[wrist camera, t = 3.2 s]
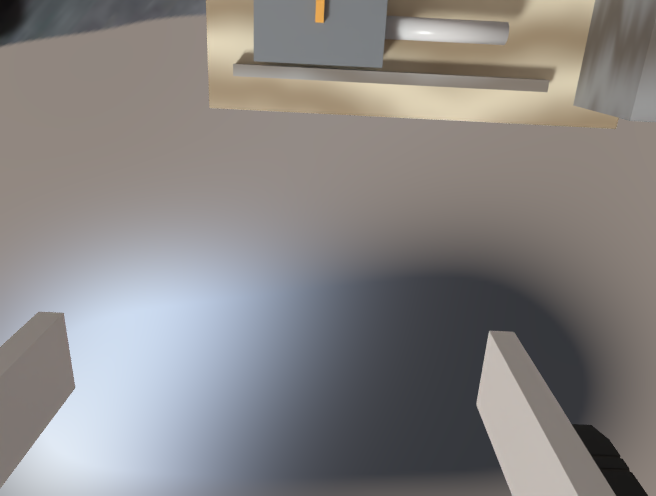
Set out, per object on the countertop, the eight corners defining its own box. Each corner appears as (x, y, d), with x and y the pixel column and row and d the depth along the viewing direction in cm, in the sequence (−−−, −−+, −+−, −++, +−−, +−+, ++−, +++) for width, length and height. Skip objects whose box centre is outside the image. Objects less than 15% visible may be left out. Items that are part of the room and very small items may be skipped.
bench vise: (207, -78, 36) (167, -116, 27) (650, -55, 36) (749, -85, 27) (212, 106, 40) (179, 123, 32) (608, 126, 40) (681, 149, 32)
